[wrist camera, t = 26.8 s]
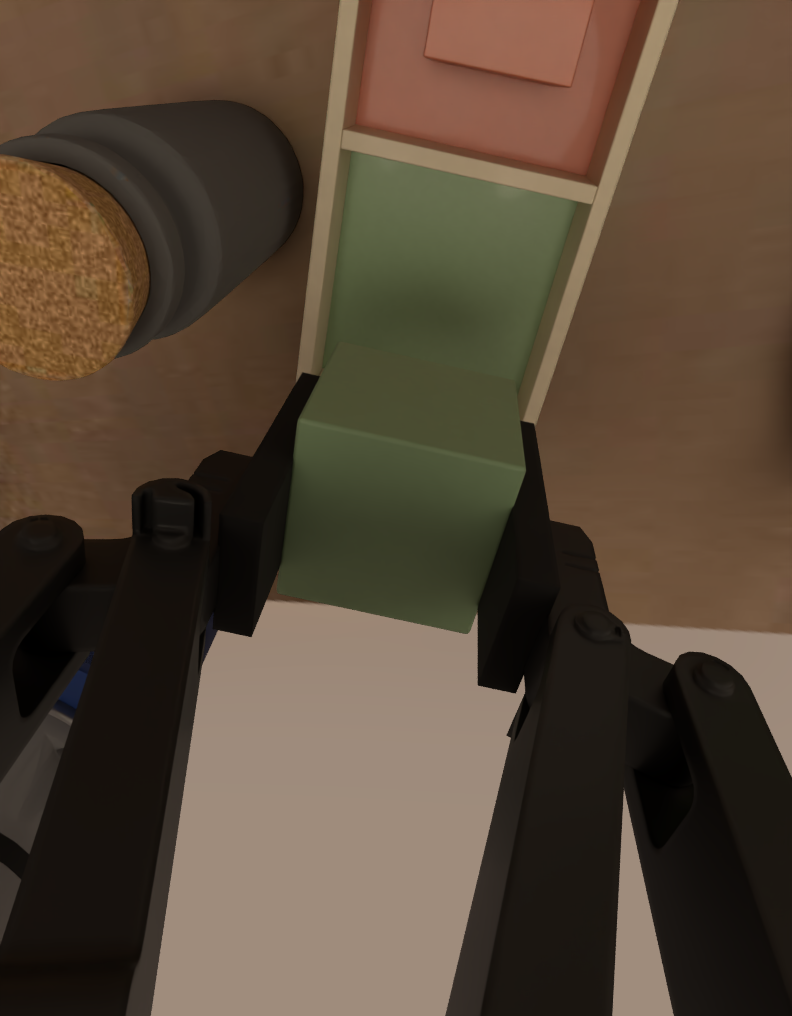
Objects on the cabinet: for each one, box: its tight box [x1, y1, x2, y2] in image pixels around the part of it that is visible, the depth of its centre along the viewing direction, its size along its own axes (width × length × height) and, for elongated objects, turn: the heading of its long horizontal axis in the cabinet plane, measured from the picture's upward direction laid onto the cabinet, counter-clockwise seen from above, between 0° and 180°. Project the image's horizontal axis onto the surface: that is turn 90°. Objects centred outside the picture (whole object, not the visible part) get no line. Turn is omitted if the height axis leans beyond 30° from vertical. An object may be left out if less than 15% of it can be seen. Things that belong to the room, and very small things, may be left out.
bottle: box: [0, 100, 303, 381], centre depth 21 cm, size 6×6×15 cm
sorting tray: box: [296, 0, 679, 427], centre depth 24 cm, size 10×20×3 cm, turn 169°
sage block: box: [277, 342, 526, 634], centre depth 16 cm, size 4×4×4 cm
